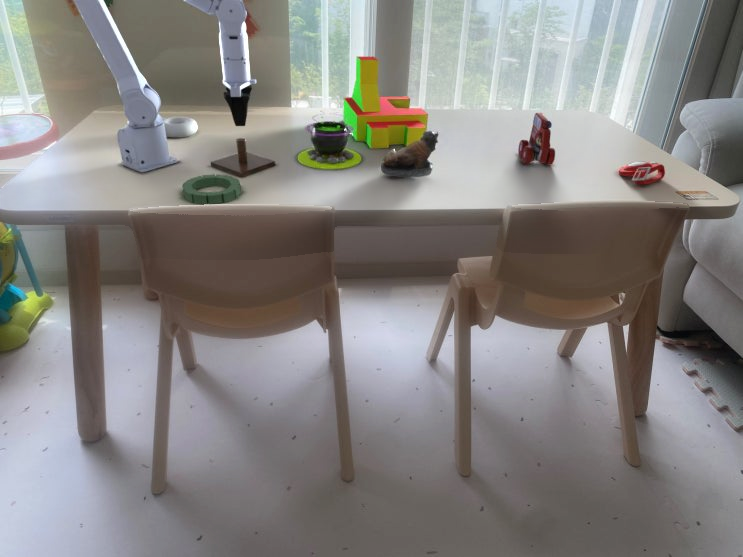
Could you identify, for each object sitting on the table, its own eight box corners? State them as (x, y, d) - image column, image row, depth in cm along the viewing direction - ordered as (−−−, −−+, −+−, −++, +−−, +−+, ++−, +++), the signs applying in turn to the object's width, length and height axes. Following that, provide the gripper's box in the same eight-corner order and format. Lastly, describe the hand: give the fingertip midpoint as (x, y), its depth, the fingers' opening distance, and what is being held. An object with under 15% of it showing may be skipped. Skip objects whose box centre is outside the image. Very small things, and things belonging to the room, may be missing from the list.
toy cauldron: (372, 156, 128) (374, 109, 122) (338, 174, 117) (338, 124, 111) (321, 144, 134) (321, 99, 128) (284, 160, 123) (282, 112, 117)
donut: (189, 141, 133) (204, 129, 141) (187, 127, 131) (202, 116, 139) (151, 138, 133) (168, 126, 142) (148, 124, 132) (165, 113, 140)
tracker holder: (609, 165, 126) (651, 155, 125) (611, 183, 127) (652, 173, 127) (636, 171, 114) (682, 161, 114) (637, 191, 116) (682, 181, 115)
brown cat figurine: (380, 180, 115) (382, 134, 110) (380, 168, 121) (382, 124, 116) (435, 182, 115) (440, 136, 110) (432, 171, 121) (437, 127, 116)
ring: (250, 197, 105) (249, 188, 104) (194, 209, 99) (193, 200, 98) (228, 178, 112) (227, 170, 111) (175, 188, 107) (173, 180, 106)
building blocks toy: (361, 148, 132) (363, 71, 123) (343, 120, 153) (344, 53, 143) (432, 146, 136) (440, 71, 127) (405, 119, 157) (410, 53, 147)
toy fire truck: (525, 168, 125) (534, 124, 119) (515, 151, 135) (523, 110, 130) (555, 170, 125) (565, 125, 119) (543, 152, 135) (552, 111, 130)
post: (241, 177, 113) (238, 150, 110) (210, 166, 118) (207, 139, 115) (275, 165, 120) (273, 139, 117) (244, 155, 125) (242, 130, 122)
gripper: (253, 64, 106) (258, 132, 113) (255, 52, 118) (260, 113, 125) (216, 64, 105) (224, 132, 112) (223, 51, 117) (229, 113, 124)
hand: (241, 122), depth 119 cm, fingers open, 4 cm apart
